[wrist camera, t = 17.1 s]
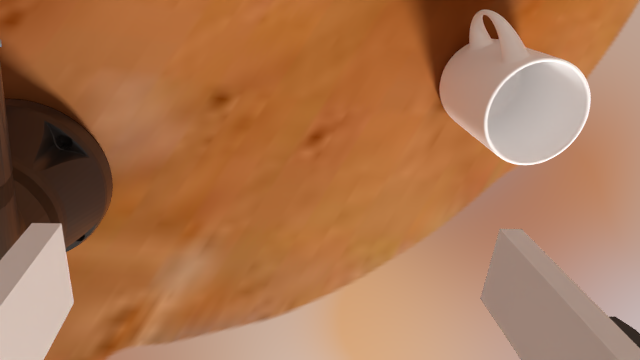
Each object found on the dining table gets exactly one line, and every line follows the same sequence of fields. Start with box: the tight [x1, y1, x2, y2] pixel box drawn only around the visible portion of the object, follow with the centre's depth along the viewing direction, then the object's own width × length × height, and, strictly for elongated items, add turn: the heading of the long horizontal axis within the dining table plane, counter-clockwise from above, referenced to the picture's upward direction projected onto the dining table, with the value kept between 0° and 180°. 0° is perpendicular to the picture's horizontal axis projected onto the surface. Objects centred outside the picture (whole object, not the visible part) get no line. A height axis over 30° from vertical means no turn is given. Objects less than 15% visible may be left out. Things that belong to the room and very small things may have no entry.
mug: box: [439, 10, 591, 165], centre depth 41 cm, size 9×12×11 cm
